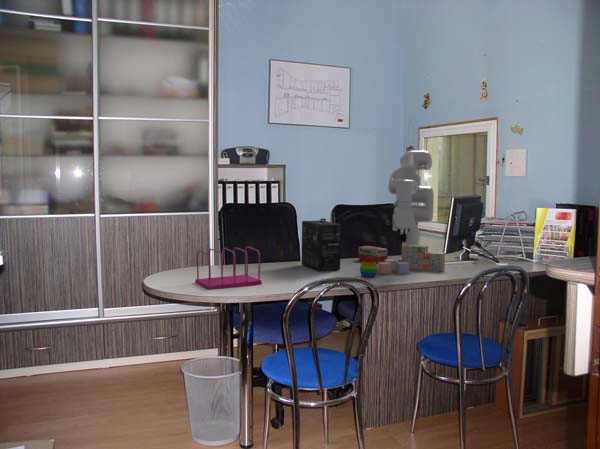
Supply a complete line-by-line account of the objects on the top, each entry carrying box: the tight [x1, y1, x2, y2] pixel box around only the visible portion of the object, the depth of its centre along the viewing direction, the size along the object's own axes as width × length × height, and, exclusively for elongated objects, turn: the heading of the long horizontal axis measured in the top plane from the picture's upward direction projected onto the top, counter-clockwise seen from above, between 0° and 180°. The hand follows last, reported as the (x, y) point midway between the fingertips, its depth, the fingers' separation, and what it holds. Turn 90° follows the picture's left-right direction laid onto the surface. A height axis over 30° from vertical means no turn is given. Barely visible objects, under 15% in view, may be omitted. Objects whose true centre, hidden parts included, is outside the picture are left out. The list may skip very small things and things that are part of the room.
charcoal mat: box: [376, 268, 411, 276], centre depth 271 cm, size 16×17×1 cm
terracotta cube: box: [377, 262, 392, 275], centre depth 266 cm, size 5×5×5 cm
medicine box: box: [358, 245, 388, 265], centre depth 305 cm, size 15×8×8 cm, turn 39°
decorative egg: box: [359, 257, 378, 279], centre depth 256 cm, size 8×8×10 cm
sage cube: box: [385, 258, 399, 271], centre depth 275 cm, size 5×5×5 cm
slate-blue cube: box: [395, 261, 410, 275], centre depth 267 cm, size 5×5×5 cm
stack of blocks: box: [401, 244, 446, 273], centre depth 280 cm, size 21×6×12 cm, turn 59°
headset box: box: [300, 217, 342, 273], centre depth 282 cm, size 22×12×26 cm, turn 26°
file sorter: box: [194, 246, 263, 290], centre depth 240 cm, size 17×25×16 cm
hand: (402, 242), depth 266 cm, fingers closed
